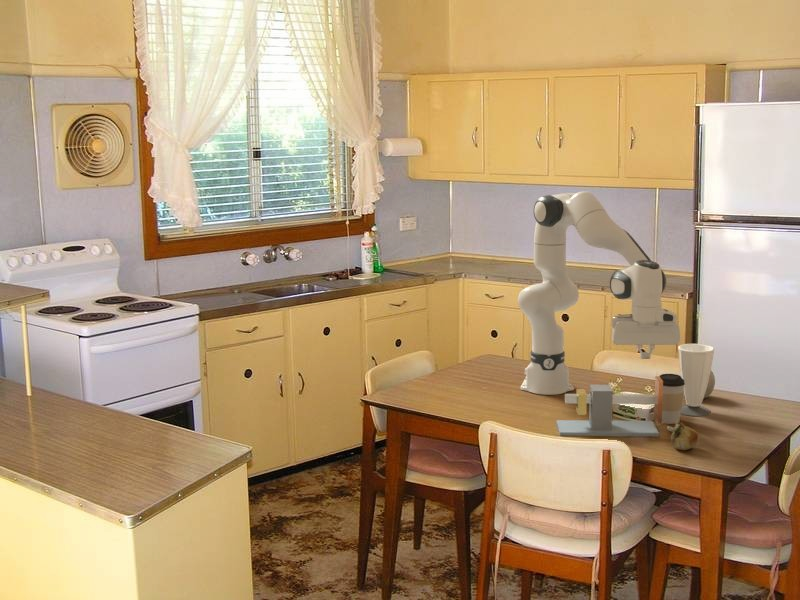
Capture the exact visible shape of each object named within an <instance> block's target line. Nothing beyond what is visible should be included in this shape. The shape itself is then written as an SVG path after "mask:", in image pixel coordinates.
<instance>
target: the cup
mask: <svg viewBox="0 0 800 600" xmlns="http://www.w3.org/2000/svg"><path fill="white" fill-rule="evenodd" d="M677 349H678V361H679V372H680V376H681V378H682V379H684V383H685V384H684V389H683V391H684V393H683V397H684V400H685V403H686V405H682V408H681V413H680V415H682V416H689V417H706V416H710V415H711V414H712V410H710V409H709V408H707V407H704V406H701V405H702V404H703V400H704V399H705V398H704V395H705V392H706V388H707V385H708V380H709V376H710V372H711V371H712V368H713V367H712V365H713V360H714V354H715V348H714V347H713V346H711V345H708V344H701V343H684V344H680V345H678V347H677Z"/></svg>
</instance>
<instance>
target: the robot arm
mask: <svg viewBox="0 0 800 600" xmlns="http://www.w3.org/2000/svg"><path fill="white" fill-rule="evenodd" d="M533 206H534V207H533V218H534V219H535V227H534V233H533V235H534V236H533V263H532V264H533V265H534V267H535V268H536V269H537V270H538V271H539V272H540V273H541V277H542V282H540V283H534V284H531V285H529V286H527V287H525V288H523V289H522V290H521V291H520V292H519V293H518V297H517V305H518V307H519V310H520V312H522V313H523V314H524V315H525V316H526V317H527V319H528V321H529V324H530V325H529V326H530V328H531V351H530V356H529V357H530V363H529V364H528V366H527V367H525V368H524V375H526V376H525V377H524V379H523V382H522V384H521V385H520V390H521V391H526V392H530V393H533V394H537V395H546V396H547V395H550V396H551V395H561V394H566V393H567V392H570V391H574V390H575V388H574V385H572V384H571V383H570V374H569V371H570V370H569V369H570V367H568V365H567V364H566V363H565V361H566V359H565V358H566V355H565V353H566V352H565V351H564V340H565V339H564V337H565V332H564V329H563V327H562V326H560V325H559V324H558V323H557V321H556V316H555V315H556V314H555V313H558V312H562V311H566V310H568V309H569V308H571V307H573V306H575V305H576V304H577V302H578V300H579V295H580V294H579V289H578V287H577V285H576V284H575V282H573V281H572V280H571V278H570V276H569V273H568V269H567V258H566V257H567V256H566V254H567V253H566V252H567V249H566V248H567V233H566V232H567V230H568V228H569V227H570V226H574V227H575V229H576V232H577V233H578V235H579V236H580V238H581V239H582V240H583V241H584V243H586V244H587V245H589V246H590V247H593V248H597V249H604V250H609V251H612V252H615V253H617V254H619V255H621V256H622V257H623V258H624V259H625V260H626V261H627V262H628V264H629V265H630V266H629V267H628V266H627V267H625V268H620V269H617V270H615V271H613V273H612V274H611V277H610V279H609V289H610V291H611V294H612V296H614V297H615V298H616V299H618V300H626V301H627V300H631V302H632V303H631V313H630V314H629V313H628V314H627V313H626V314H621V313H619V314H618V313H617V314H616V315H614V316H613V317H612V318H611V327H612V332H611V342H612V343H613V344H615V345H616V346H619V345H620V346H622V345H623V346H624V345H625V346H626V345H627V346H628V345H629V346H632V345H633V346H634V345H635V346H636V348H637V350H638V351H639V357H640V358H639V359H640V360H643V359H644V360H645V359H646V360H647V359H648V360H650V359H651V357H652V355H651V354H652V353H653V351H654V350H655V347H656V346H657V345H660V346H661V345H669V346H670V345H673V346H674V345H675V346H676V345H678V344H680V342H681V330H680V326H679V323H678V322H677V320H678V316H677V314H676V313H675V312H673V311H672V310H669V309H665V308H663V307H662V306H663V305H662V303H663V302H662V300H661V296H662V293H663V292H664V291H665V289H666V285H667V277H666V274H665V272H664V271H663V269H662V267H661V266H660V264H659V263H657V262H656V261H653V260H651V258H650V257H649V256H648V255H647V253H646V252H645V251H644V250H643V249H642V248H641V246H640V245H639V244H638V242H637V241H636V240H635V239H634V237H633V236H632V235H631V234H630V233H629V232H628V231H626V230H625V229H623V228H622V227H621V226H619V224H617V223H616V221H614V220H613V219H612V218H611V217H610V215H609V214H608V212H607V211H606V209H605V207H604V205H602V203H601V202H600V201H599V200H598V198H597V197H596V196H594V194H593V193H591V192H590V191H586V190H585V191H578V192H563V193H557V194H552V195H551V194H547V195H544V196H541V197H539V198H537V199H536V201H535V203H534V205H533ZM643 345H644V346H645V345H646V346H647V345H648V347H649V349H648V350H647V351H642V348H643ZM655 345H656V346H655Z"/></svg>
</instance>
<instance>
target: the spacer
mask: <svg viewBox="0 0 800 600" xmlns="http://www.w3.org/2000/svg"><path fill="white" fill-rule="evenodd" d="M575 394H577V395H578V403H575V410H576V413H577V415H578V416H587V406H588V405H587V394H588V393H587V392H586V390H585V388H576V392H575Z"/></svg>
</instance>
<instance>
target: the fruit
mask: <svg viewBox="0 0 800 600" xmlns="http://www.w3.org/2000/svg"><path fill="white" fill-rule="evenodd" d="M715 384H716V378H715V374H714V372H713V371H712V370H711V372H710V376H709V380H708V385H707V388H706V392H705V395H704V398H703V399H705V398H707V397H709V396H710V395H711V394H712V393H713V391H714V388H715Z"/></svg>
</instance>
